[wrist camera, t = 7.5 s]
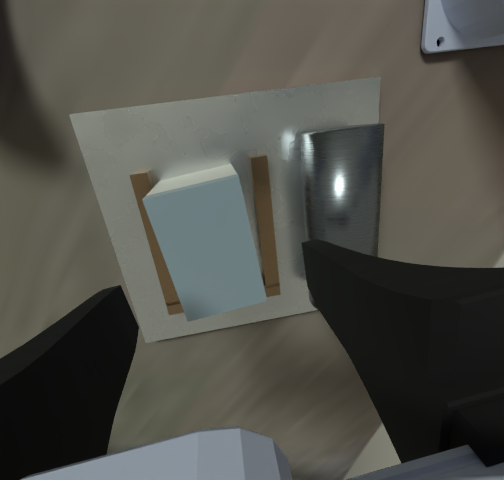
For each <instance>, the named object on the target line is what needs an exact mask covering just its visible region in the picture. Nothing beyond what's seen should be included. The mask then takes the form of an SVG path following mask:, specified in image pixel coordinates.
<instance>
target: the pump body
mask: <svg viewBox="0 0 504 480" xmlns="http://www.w3.org/2000/svg"><path fill="white" fill-rule="evenodd" d="M142 201H143V203H144V206H145V209H146V211H147V214H148V217H149V219H150V222H151V225H152V228H153V230H154V233H155V236H156V238H157V241H158V244H159V246H160V249H161V252H162V254H163V257H164V260H165V262H166V265H167V268H168V270H169V273H170V276H171V278H172V281H173V284H174V286H175V289H176V292H177V295H178V297H179V300H180V303H181V305H182V308H183V311H184V313H185V316H186V319H187V321H188V322H189V321H193V320H197V319H201V318H204V317H208V316H212V315H216V314H220V313H223V312H227V311H231V310H235V309H238V308H242V307H246V306H250V305H253V304H257V303H261V302H265V301H267V298H266V293H265V289H264V285H263V280H262V276H261V271H260V267H259V263H258V258H257V254H256V249H255V245H254V241H253V236H252V232H251V228H250V223H249V219H248V214H247V210H246V206H245V201H244V197H243V192H242V188H241V184H240V179H239V176H238V174H237V173H236V171H235V170H234V168H233V166H232V165H231V164H228V165H224V166H220V167H216V168H211V169H207V170H203V171H199V172H195V173H190V174H186V175H182V176H178V177H173V178H169V179H165V180H161V181H159V182H158V183H157V184H156V185H155V186H154V187H153V189H152V190H151V191H150V192H149V193H148V194H147V195H146V196H145V197H144V198H143V199H142Z"/></svg>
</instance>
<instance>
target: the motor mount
mask: <svg viewBox="0 0 504 480" xmlns="http://www.w3.org/2000/svg"><path fill="white" fill-rule="evenodd" d="M380 78H381V77H373V78H365V79H357V80H348V81H340V82H332V83H324V84H316V85H307V86H299V87H291V88H283V89H274V90H266V91H258V92H250V93H242V94H233V95H225V96H217V97H209V98H200V99H192V100H184V101H176V102H168V103H159V104H151V105H143V106H135V107H126V108H118V109H110V110H102V111H94V112H85V113H77V114H69V116H70V119H71V122H72V125H73V128H74V131H75V134H76V137H77V140H78V143H79V145H80V148H81V151H82V154H83V157H84V160H85V163H86V166H87V169H88V172H89V175H90V178H91V181H92V184H93V187H94V190H95V193H96V196H97V199H98V202H99V205H100V208H101V211H102V214H103V217H104V220H105V223H106V226H107V229H108V232H109V235H110V238H111V241H112V244H113V247H114V250H115V253H116V256H117V259H118V262H119V265H120V268H121V271H122V274H123V277H124V279H125V282H126V285H127V288H128V291H129V294H130V297H131V300H132V303H133V306H134V309H135V312H136V315H137V318H138V321H139V324H140V327H141V330H142V333H143V336H144V339H145V342H146V343H149V342H154V341H159V340H164V339H170V338H175V337H180V336H185V335H190V334H196V333H201V332H206V331H211V330H216V329H222V328H227V327H232V326H237V325H242V324H248V323H253V322H258V321H263V320H268V319H274V318H279V317H284V316H289V315H294V314H300V313H305V312H310V311H315V310H319V309H318V307H317V306H316V304H315V302H314V300H313V298H312V295H311V293H310V291H309V289H308V287H307V281H306V273H305V266H304V258H303V251H302V242H306V241H310V240H314V239H318V240H323V241H326V242H329V243H332V244H335V245H338V246H341V247H344V248H347V249H350V250H353V251H356V252H360V253H363V254H367V255H371V256H375V257H377V255H378V236H379V217H380V198H381V180H382V161H383V142H384V124H378V122H379V100H380ZM228 164H231V165H232V166H233V168H234V170H235V171H236V173H237V174H238V176H239V179H240V184H241V188H242V192H243V197H244V201H245V206H246V210H247V214H248V219H249V223H250V228H251V232H252V236H253V241H254V245H255V249H256V254H257V258H258V263H259V267H260V271H261V276H262V280H263V285H264V289H265V293H266V298H267V301H265V302H261V303H257V304H253V305H250V306H246V307H242V308H238V309H235V310H231V311H227V312H223V313H220V314H216V315H212V316H208V317H204V318H201V319H197V320H193V321H189V322H188V321H187V319H186V316H185V313H184V311H183V308H182V305H181V303H180V300H179V297H178V295H177V292H176V289H175V286H174V284H173V281H172V278H171V276H170V273H169V270H168V268H167V265H166V262H165V260H164V257H163V254H162V252H161V249H160V246H159V244H158V241H157V238H156V236H155V233H154V230H153V228H152V225H151V222H150V219H149V217H148V214H147V211H146V209H145V206H144V203H143V201H142V199H143V198H144V197H145V196H146V195H147V194H148V193H149V192H150V191H151V190H152V189H153V187H154V186H155V185H156V184H157V183H158V182H159V181H161V180H165V179H169V178H173V177H178V176H182V175H186V174H190V173H195V172H199V171H203V170H207V169H211V168H216V167H220V166H224V165H228ZM319 311H320V310H319Z"/></svg>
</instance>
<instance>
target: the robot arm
mask: <svg viewBox="0 0 504 480" xmlns="http://www.w3.org/2000/svg"><path fill="white" fill-rule="evenodd" d="M437 39H439V41H440V44H439V46H437ZM500 45H504V0H425V9H424V20H423V31H422V42H421V49H422V51H423V52H424V53H425V54H431V53H439V52H448V51H457V50H465V49H474V48H482V47H491V46H500ZM302 251H303V258H304V266H305V273H306V281H307V287H308V289H309V291H310V293H311V295H312V298H313V300H314V302H315V304H316V306H317V307H318V309H319V310H320V312H321V313H322V315H323V317H324V318H325V320H326V321H327V323H328V324H329V326H330V327H331V329H332V330H333V332H334V333H335V335H336V336H337V338H338V339H339V341H340V342H341V344H342V345H343V347H344V348H345V350H346V352H347V353H348V355H349V357H350V358H351V360H352V362H353V364H354V366H355V368H356V370H357V372H358V374H359V376H360V378H361V379H362V381H363V383H364V385H365V387H366V389H367V391H368V393H369V395H370V397H371V399H372V402H373V404H374V406H375V408H376V410H377V412H378V414H379V416H380V418H381V420H382V422H383V424H384V426H385V429H386V431H387V433H388V435H389V437H390V439H391V441H392V443H393V446H394V448H395V450H396V452H397V454H398V457H399V459H400V461H401V463H402V464H398V465H395V466H391V467H388V468H385V469H381V470H377V471H374V472H371V473H367V474H364V475H360V476H357V477H354V478H350V479H346V480H504V268H456V267H439V266H429V265H419V264H411V263H404V262H399V261H393V260H388V259H383V258H379V257H375V256H371V255H367V254H363V253H360V252H356V251H353V250H350V249H347V248H344V247H341V246H338V245H335V244H332V243H329V242H326V241H323V240H318V239H314V240H310V241H306V242H302ZM138 330H139V327H138V324H137V322H136V320H135V317H134V315H133V313H132V311H131V308H130V306H129V304H128V301H127V299H126V297H125V295H124V292H123V290H122V288H121V285H119V286H115V287H111V288H107V289H104V290H102V291H100V292H98V293H97V294H95V295H93V296H92V297H90V298H89V299H88V300H86V301H85V302H83V303H82V304H81V305H79V306H78V307H76V308H75V309H74V310H72V311H71V312H70V313H68V314H67V315H66V316H64V317H63V318H61V319H60V320H59V321H57V322H56V323H54V324H53V325H51V326H50V327H49V328H47V329H46V330H44V331H43V332H41V333H40V334H38V335H37V336H36V337H34V338H33V339H31V340H30V341H28V342H27V343H25V344H24V345H22V346H20V347H19V348H17V349H16V350H14V351H12V352H11V353H9V354H7V355H6V356H4V357H2V358H1V359H0V480H292V477H291V472H290V468H289V464H288V460H287V458H286V456H285V455H284V454H283V452H282V451H281V450H280V448H279V447H278V446H277V444H276V443H275V442H274V440H273V439H272V438H270V437H267V436H265V435H262V434H259V433H256V432H253V431H250V430H247V429H244V428H241V427H238V426H232V427H221V428H209V429H200V430H196V431H192V432H189V433H185V434H181V435H178V436H174V437H170V438H166V439H163V440H159V441H155V442H151V443H148V444H144V445H140V446H137V447H133V448H129V449H125V450H122V451H118V452H114V453H111V454H107V449H108V444H109V439H110V434H111V430H112V425H113V420H114V417H115V413H116V410H117V406H118V403H119V400H120V397H121V394H122V391H123V388H124V385H125V381H126V378H127V375H128V372H129V369H130V366H131V363H132V360H133V356H134V353H135V349H136V343H137V337H138ZM106 454H107V455H106Z"/></svg>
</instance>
